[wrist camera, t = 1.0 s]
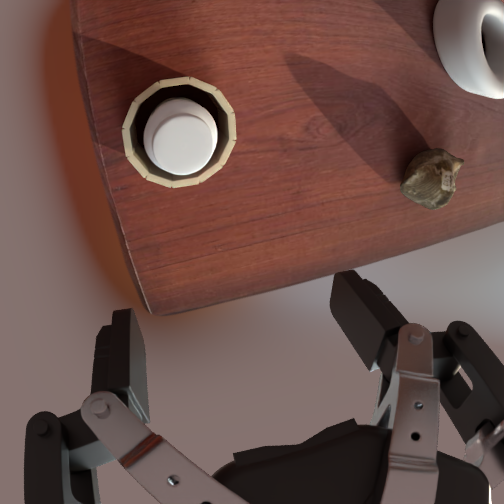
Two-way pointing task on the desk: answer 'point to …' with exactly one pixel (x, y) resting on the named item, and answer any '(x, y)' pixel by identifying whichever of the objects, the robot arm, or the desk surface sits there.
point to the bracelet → (219, 156)
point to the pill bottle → (180, 136)
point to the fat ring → (472, 44)
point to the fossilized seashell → (431, 178)
